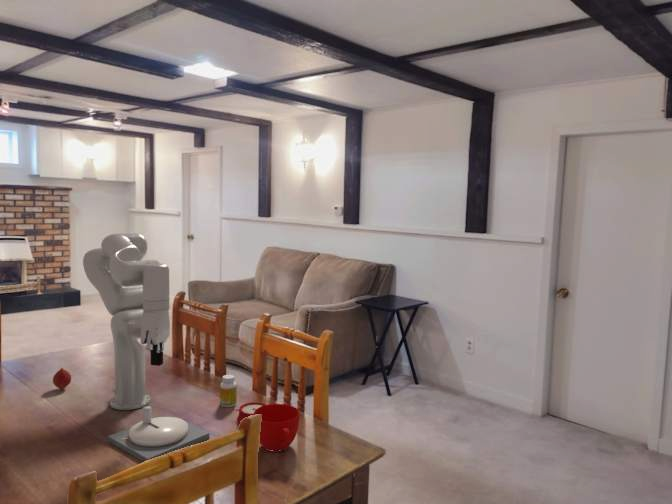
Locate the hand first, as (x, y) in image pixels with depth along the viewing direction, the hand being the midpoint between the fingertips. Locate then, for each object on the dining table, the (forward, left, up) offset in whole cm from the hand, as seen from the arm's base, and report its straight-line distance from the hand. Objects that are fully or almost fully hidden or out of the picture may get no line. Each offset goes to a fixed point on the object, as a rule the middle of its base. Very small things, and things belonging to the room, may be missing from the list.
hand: (156, 364), depth 159 cm
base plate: (+9, -5, -19) cm, 22 cm away
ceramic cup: (+39, +13, -19) cm, 45 cm away
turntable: (+9, -5, -17) cm, 20 cm away
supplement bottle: (+4, +25, -19) cm, 31 cm away
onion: (-50, -5, -19) cm, 54 cm away
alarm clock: (+21, +22, -19) cm, 36 cm away
